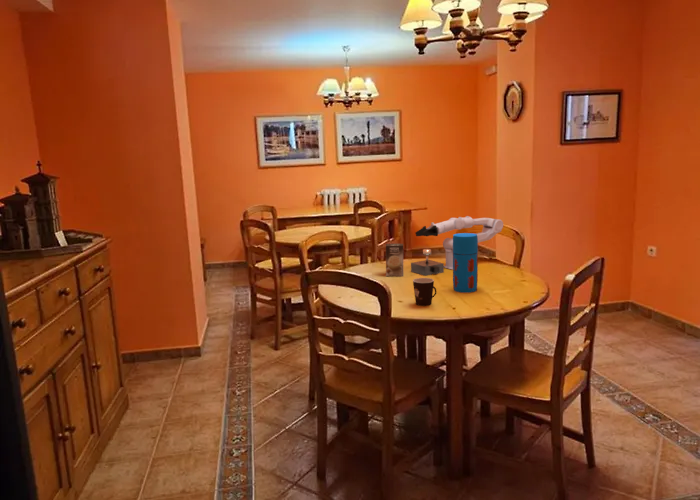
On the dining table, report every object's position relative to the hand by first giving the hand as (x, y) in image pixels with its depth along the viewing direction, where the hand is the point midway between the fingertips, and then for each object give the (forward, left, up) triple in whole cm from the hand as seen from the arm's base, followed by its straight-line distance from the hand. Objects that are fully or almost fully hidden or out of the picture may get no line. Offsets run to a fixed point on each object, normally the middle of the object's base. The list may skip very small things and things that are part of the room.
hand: (419, 234), depth 266 cm
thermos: (+5, +40, -20) cm, 45 cm away
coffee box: (+14, -3, -20) cm, 25 cm away
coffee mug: (+34, +48, -20) cm, 62 cm away
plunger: (-3, +2, -17) cm, 17 cm away
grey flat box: (-3, +2, -20) cm, 20 cm away
